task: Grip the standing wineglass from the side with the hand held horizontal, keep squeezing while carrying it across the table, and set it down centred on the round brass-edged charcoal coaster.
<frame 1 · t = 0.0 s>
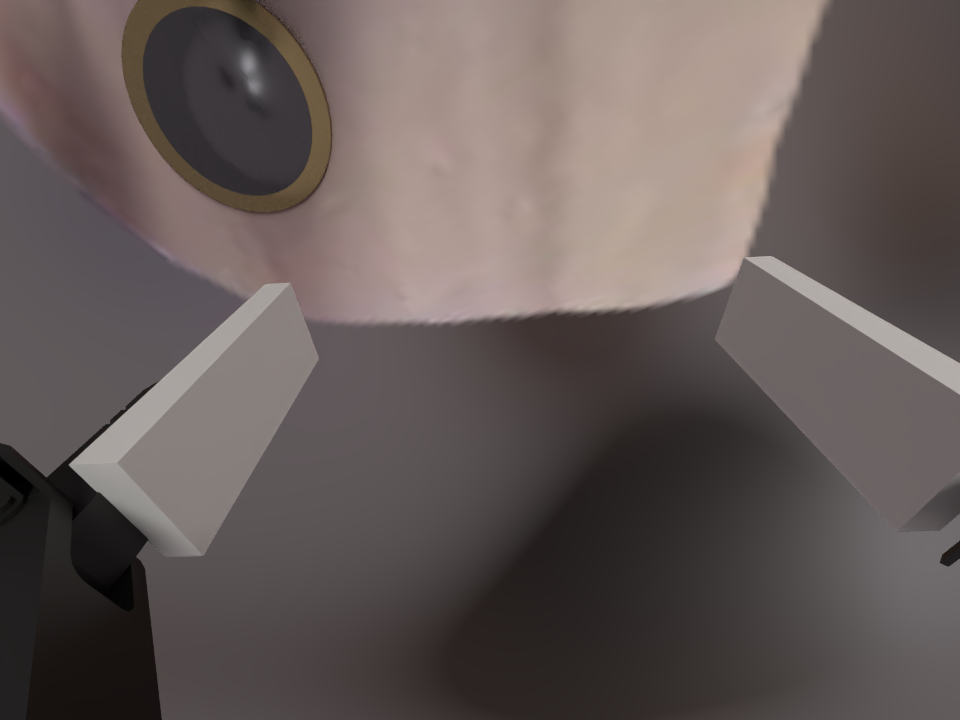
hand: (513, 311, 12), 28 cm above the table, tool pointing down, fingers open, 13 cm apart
coaster: (234, 112, 32), on the table
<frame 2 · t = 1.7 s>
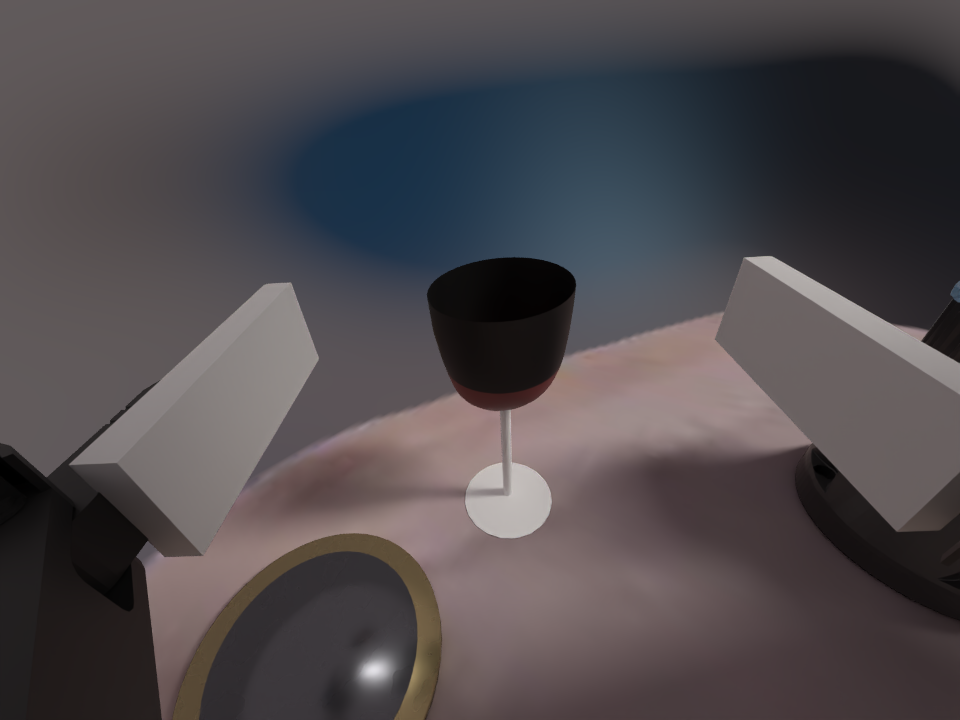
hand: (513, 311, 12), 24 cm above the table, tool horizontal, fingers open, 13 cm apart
wineglass: (508, 498, 33), on the table
coaster: (318, 655, 25), on the table
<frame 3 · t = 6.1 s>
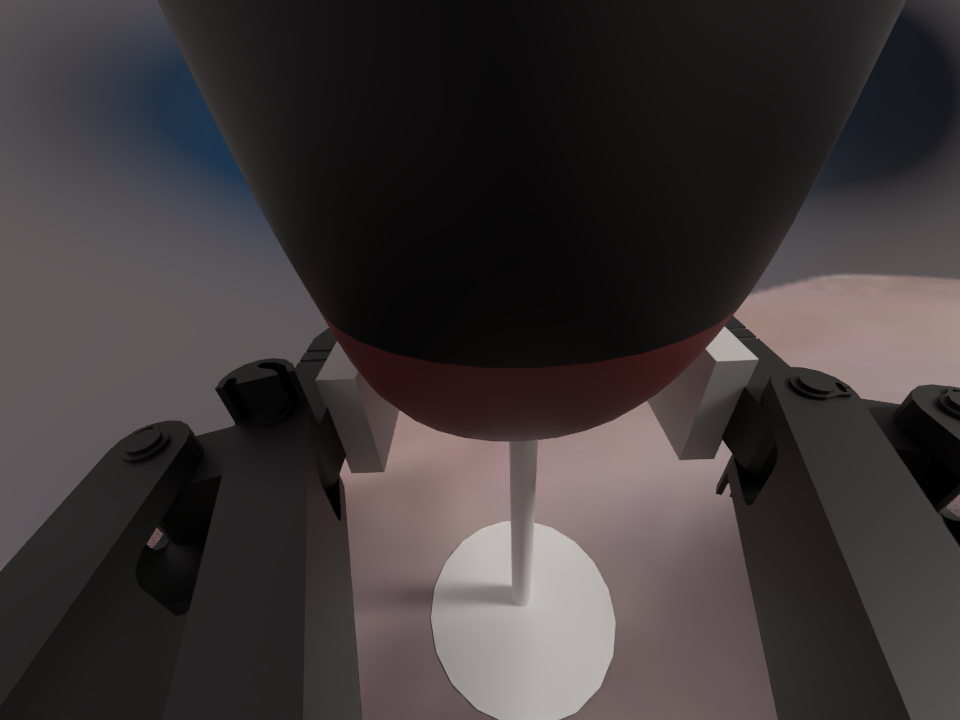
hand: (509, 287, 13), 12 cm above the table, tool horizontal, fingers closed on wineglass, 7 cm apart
wineglass: (521, 605, 16), on the table, touching gripper
when the fingers open (13 cm above the table, at t = 11.7 s): wineglass moves 3 cm, resting on coaster.
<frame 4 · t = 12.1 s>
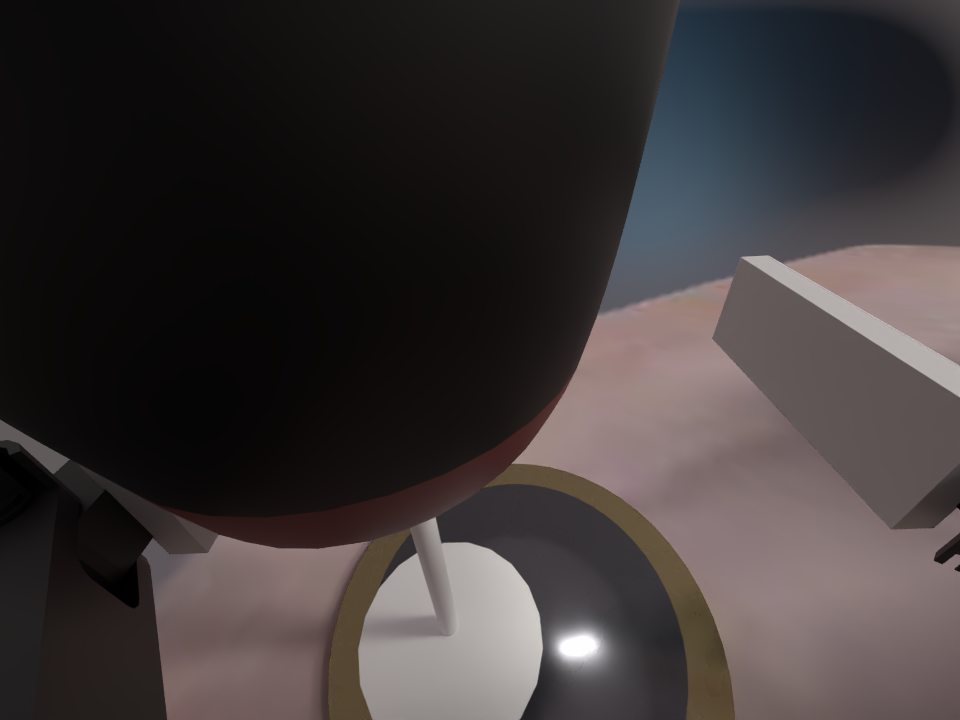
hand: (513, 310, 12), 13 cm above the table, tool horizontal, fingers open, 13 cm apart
wineglass: (451, 633, 16), point 1 cm above the table, touching coaster, gripper
coaster: (520, 617, 17), on the table
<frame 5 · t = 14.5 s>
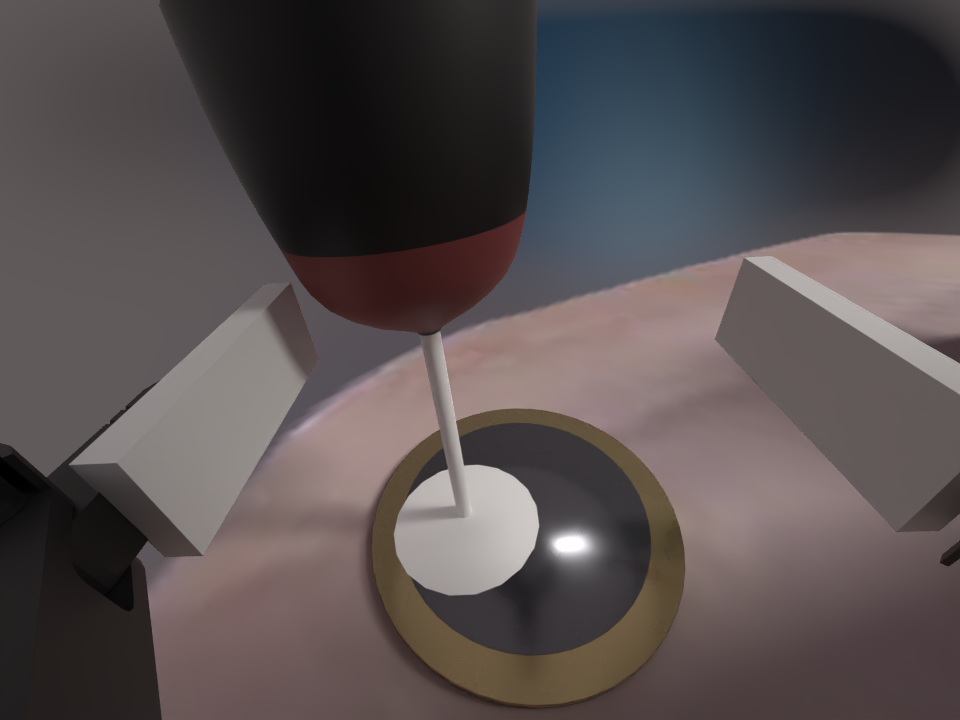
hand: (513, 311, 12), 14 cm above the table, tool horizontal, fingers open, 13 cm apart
wineglass: (466, 522, 20), point 1 cm above the table, touching coaster
coaster: (521, 515, 21), on the table
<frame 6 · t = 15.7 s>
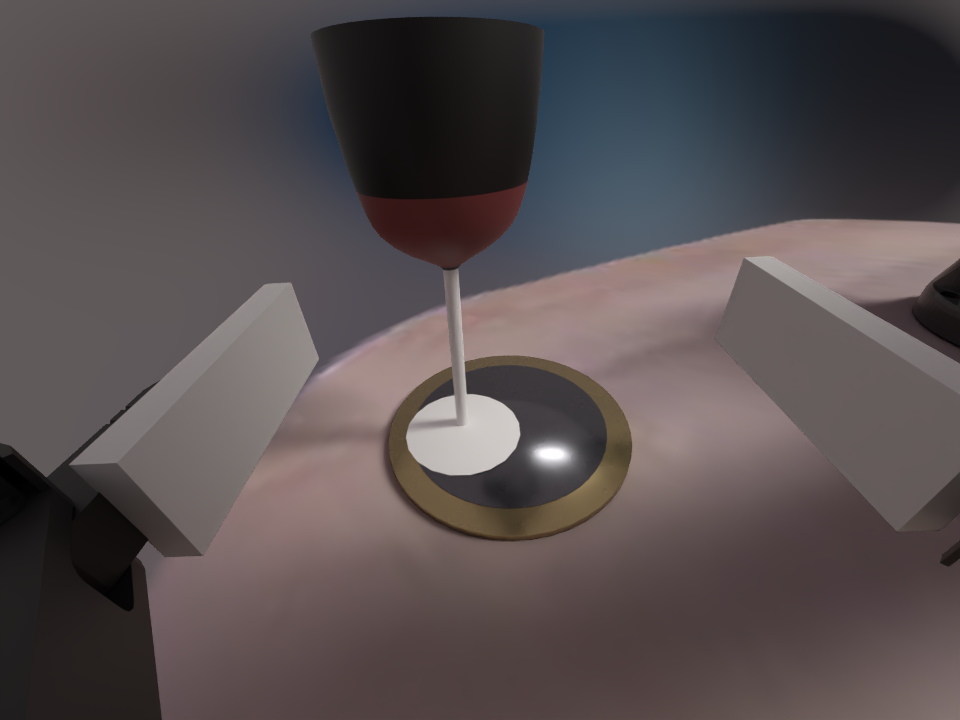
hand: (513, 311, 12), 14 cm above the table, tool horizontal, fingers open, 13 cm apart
wineglass: (463, 431, 25), point 1 cm above the table, touching coaster
coaster: (507, 428, 26), on the table
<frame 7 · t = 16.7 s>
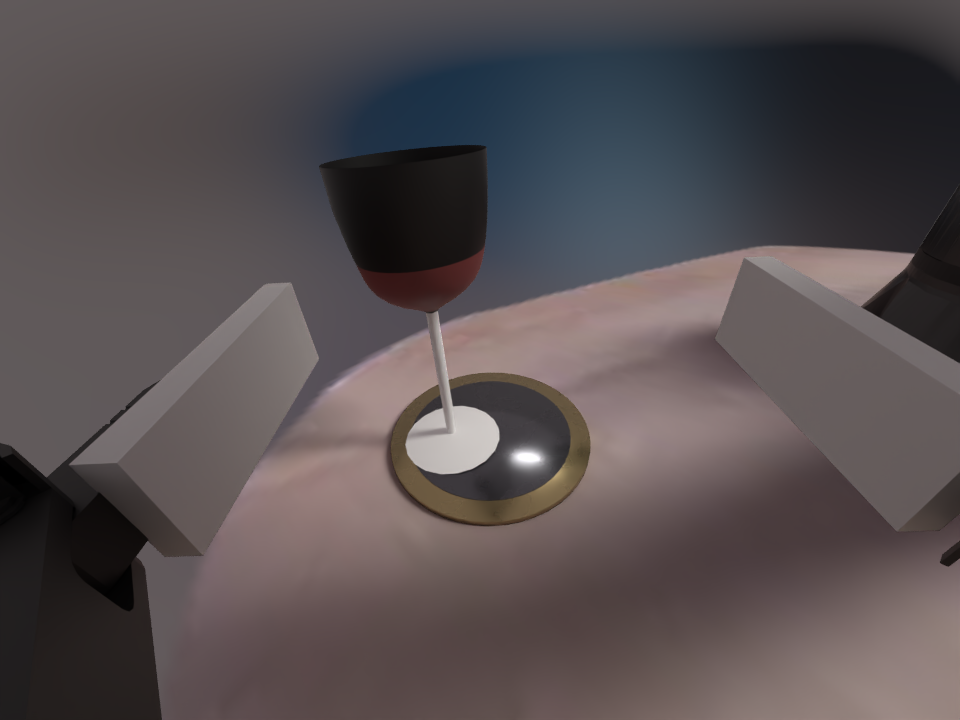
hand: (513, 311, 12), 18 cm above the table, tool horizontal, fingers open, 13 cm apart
wineglass: (452, 438, 31), point 1 cm above the table, touching coaster
coaster: (489, 435, 31), on the table
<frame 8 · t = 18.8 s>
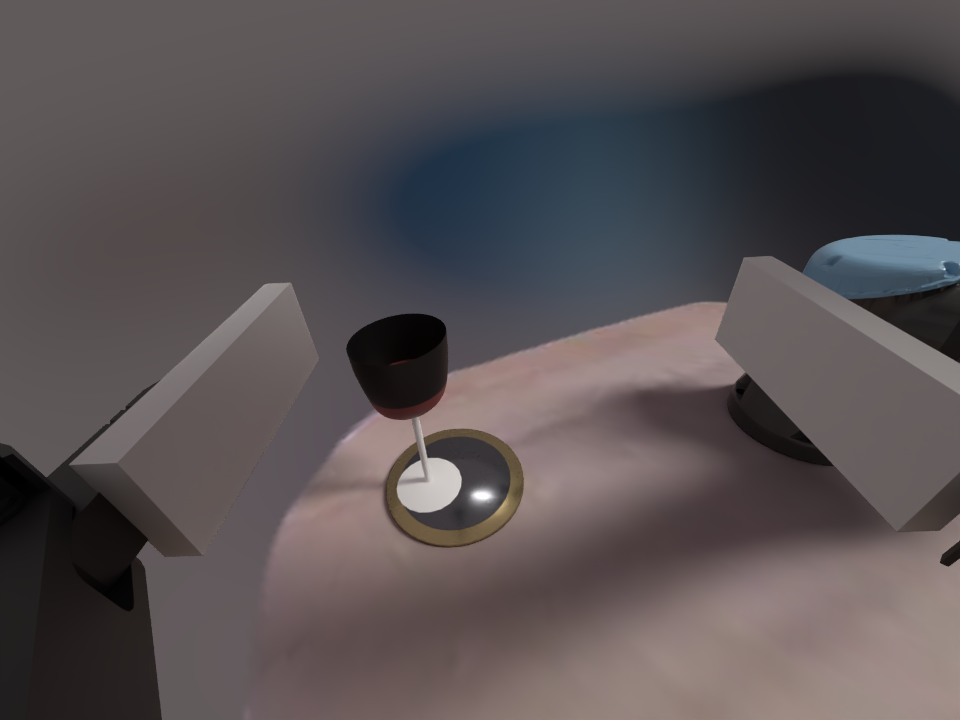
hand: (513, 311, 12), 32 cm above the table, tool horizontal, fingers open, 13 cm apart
wineglass: (429, 484, 44), resting on coaster
coaster: (455, 480, 45), on the table
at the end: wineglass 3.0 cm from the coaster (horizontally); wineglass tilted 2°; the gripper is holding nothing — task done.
